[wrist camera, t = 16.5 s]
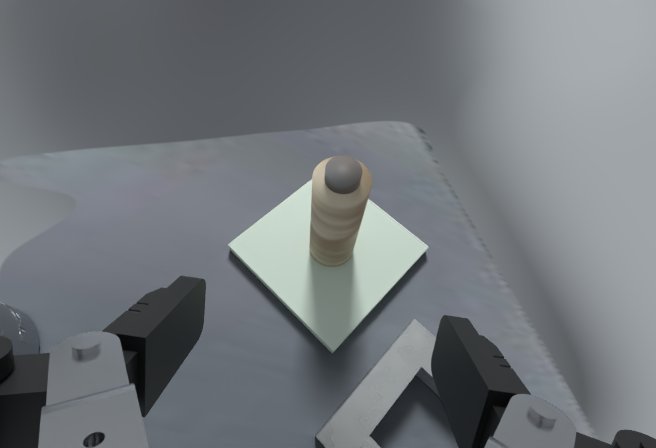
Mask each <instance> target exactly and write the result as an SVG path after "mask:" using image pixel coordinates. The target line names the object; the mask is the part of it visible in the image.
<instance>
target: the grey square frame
mask: <svg viewBox="0 0 656 448" xmlns="http://www.w3.org/2000/svg"><path fill="white" fill-rule="evenodd" d="M435 341H436V337H435V336H433V335H432V334H431V333H430V332H429V331H428V330H427V329H426V328H424V327H423V326H422V325H421V324H420V323H419V322H418V321H417V320H415V319H414V320H413V321H412V322H411V323H410V324H409V325H407V326H406V328H405V329H404V330H403V331H402V332H401V334H400V335H399V336H398V337H397V338H396V340H395V341H394V342H393V343H392V344H391V346H390V347H389V348H388V349H387V350H386V352H385V353H384V354H383V355H382V356H381V358H380V359H379V360H378V361H377V362H376V364H375V365H374V366H373V367H372V368H371V370H370V371H369V372H368V373H367V374H366V376H365V377H364V378H363V379H362V380H361V382H360V383H359V384H358V385H357V386H356V388H355V389H354V390H353V391H352V392H351V393H350V395H349V396H348V397H347V398H346V399H345V401H344V402H343V403H342V404H341V405H340V407H339V408H338V409H337V410H336V411H335V413H334V414H333V415H332V416H331V417H330V419H329V420H328V421H327V422H326V423H325V425H324V426H323V427H322V428H321V429H320V431H319V432H318V433H317V434H316V435H315V437H316V438H317V439H318V440H319V441H320V442H321V443H322V445H323V446H324V447H325V448H381V447H380V446H379V445H378V444H377V443H376V442H375V441H374V440H373V439H372V438H371V437H370V436H369V435H370V434H371V432H372V431H373V430H374V429H375V427H376V426H377V425H378V423H379V422H380V421H381V419H382V418H383V417H384V415H385V414H386V413H387V411H388V410H389V409H390V408H391V406H392V405H393V404H394V402H395V401H396V400H397V398H398V397H399V396H400V394H401V393H402V392H403V390H404V389H405V388H406V387H407V385H408V384H409V383H410V381H411V380H412V379H413V377H414V376H415V375H417V376H418V377H419V378H420V379H421V380H422V381H423V382H424V383H425V384H426V385H427V386H428V387H429V388H430V389H431V390H432V391H433V392H434V393H436V394H437V395H438V396H439V397H440V395H439V393H438V390H437V387H436V384H435V382H434V379H433V376H432V372H431V358H432V353H433V349H434V345H435Z"/></svg>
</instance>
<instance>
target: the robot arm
mask: <svg viewBox="0 0 656 448" xmlns="http://www.w3.org/2000/svg"><path fill="white" fill-rule="evenodd" d="M205 292H206V283H205V280H204V279H200V278H193V277H186V276H180V277H179V278H178V279H177V280H175V281H174V282H173V283H172V284H171V285H170V286H169V287H168V288H160V289H157V290H155V291H153V292H150V293H148V294H146V295H145V296H144V297H143V298H141V299H140V300H139V301H138V302H137V304H134V305H133V306H132V307H130V308H129V310H128V311H126V312H124V313H123V314H122V315H121V316H120V317H118V318H117V319H116V320H115V321H114V322H112V323H111V324H110V325H109V326H108V327H106V328H105V329H104V330H103V331H102V332H101V331H95V332H86V333H81V334H78V335H74V336H72V337H69V338H67V339H65V340H63V341H61V342H60V343H58V344H57V345H56V346H55V347H54V348H53V349H52V350H51V352H50V353H45V354H39V344H40V343H39V336H38V331H37V329H36V327H35V325H34V323H33V321H32V320H31V319H30V318H29V317H28V316H27V315H26V314H24V313H23V312H21V311H19V310H17V309H15V308H13V307H10V306H9V305H7V304H4V303H2V302H0V448H149V447H148V442H147V438H146V433H145V429H144V424H143V420H142V417H145V416H146V415H147V413H148V412H149V411H150V409H151V408H152V406H153V405H154V403H155V402H156V400H157V399H158V397H159V396H160V395H161V393H162V392H163V390H164V389H165V387H166V386H167V384H168V383H169V382H170V380H171V379H172V377H173V376H174V374H175V373H176V371H177V370H178V369H179V367H180V366H181V364H182V363H183V361H184V360H185V358H186V357H187V356H188V354H189V353H190V351H191V350H192V348H193V347H194V345H195V344H196V343H197V341H198V339H199V337H200V335H201V332H202V329H203V324H204V310H205ZM431 372H432V376H433V379H434V382H435V384H436V387H437V390H438V393H439V395H440V398H441V401H442V403H443V406H444V409H445V411H446V414H447V417H448V420H449V422H450V425H451V428H452V430H453V433H454V436H455V438H456V441H457V444H458V447H459V448H656V439H654V438H652V437H650V436H648V435H645V434H642V433H639V432H636V431H632V430H620V431H618V432H617V434H616V436H615V438H614V440H613V442H612V445H610V444H607V443H605V442H602V441H600V440H597V439H594V438H591V437H589V436H586V435H583V434H580V433H578V432H576V428H575V426H574V424H573V422H572V421H571V419H570V418H569V417H568V416H567V415H566V414H565V413H564V412H563V411H561V410H560V409H559V408H557V407H556V406H554V405H553V404H551V403H549V402H548V401H546V400H544V399H541V398H539V397H536V396H533V395H531V394H530V392H529V391H528V390H527V388H526V387H525V385H524V384H523V383H522V381H521V380H520V378H519V377H518V376H517V374H516V373H515V372H514V370H513V369H511V366H510V365H509V363H508V362H507V360H506V359H504V356H503V355H502V353H501V352H500V351H499V349H498V348H497V347H496V346H495V345H494V344H493V343H492V342H490V341H489V340H488V339H487V338H485V337H484V336H481V335H479V334H478V333H477V331H476V330H475V328H474V327H473V325H472V324H471V322H470V321H469V320H468V319H467V318H460V317H454V316H447V315H444V316H443V317H442V319H441V321H440V325H439V329H438V333H437V337H436V341H435V345H434V349H433V353H432V358H431Z"/></svg>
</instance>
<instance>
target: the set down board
mask: <svg viewBox="0 0 656 448" xmlns="http://www.w3.org/2000/svg"><path fill="white" fill-rule="evenodd" d="M311 198H312V180H310V181H309V182H308V183H306V184H305V185H304V186H303V187H301V188H300V189H299V190H297V191H296V192H295V193H294V194H292V195H291V196H290V197H288V198H287V199H286V200H285V201H283V202H282V203H281V204H279V205H278V206H277V207H276V208H274V209H273V210H272V211H270V212H269V213H268V214H267V215H265V216H264V217H263V218H261V219H260V220H259V221H258V222H256V223H255V224H254V225H252V226H251V227H250V228H248V229H247V230H246V231H245V232H243V233H242V234H241V235H239V236H238V237H237V238H236V239H234V240H233V241H232V242H230V243H229V244H228V247H229V249H230V250H231V251H232V252H233V253H234V254H235V255H236V256H237V257H238V258H239V260H240V261H241V262H242V263H243V264H244V265H245V266H246V267H247V268H248V269H249V270H250V271H251V272H252V273H253V274H254V275H255V276H256V277H257V278H258V279H259V280H260V281H261V282H262V283H263V284H264V285H265V286H266V287H267V288H268V289H269V290H270V291H271V292H272V293H273V294H274V295H275V296H276V297H277V298H278V299H279V300H280V301H281V302H282V303H283V304H284V305H285V306H286V307H287V308H288V309H289V310H290V311H291V312H292V313H293V314H294V315H295V316H296V317H297V318H298V319H299V320H300V321H301V322H302V323H303V324H304V325H305V326H306V327H307V329H308V330H309V331H310V332H311V333H312V334H313V335H314V336H315V337H316V338H317V339H318V340H319V341H320V342H321V343H322V344H323V345H324V346H325V347H326V348H327V349H328V350H329V351H330V352H331V353H333V352H334V351H335V350H336V349H337V348H338V347H339V346H340V345H341V344H342V342H343V341H344V340H345V339H346V338H347V337H348V336H349V335H350V334H351V333H352V332H353V330H354V329H355V328H356V327H357V326H358V325H359V324H360V323H361V322H362V321H363V319H364V318H365V317H366V316H367V315H368V314H369V313H370V312H371V311H372V310H373V309H374V307H375V306H376V305H377V304H378V303H379V302H380V301H381V300H382V299H383V298H384V296H385V295H386V294H387V293H388V292H389V291H390V290H391V289H392V288H393V287H394V286H395V284H396V283H397V282H398V281H399V280H400V279H401V278H402V277H403V276H404V275H405V273H406V272H407V271H408V270H409V269H410V268H411V267H412V266H413V265H414V264H415V263H416V261H417V260H418V259H419V258H420V257H421V256H422V255H423V254H424V253H425V252H426V250H427V249H428V246H427V245H426V244H425V243H423V242H422V241H421V240H420V239H418V238H417V237H416V236H415V235H413V234H412V233H411V232H410V231H408V230H407V229H406V228H405V227H403V226H402V225H401V224H400V223H398V222H397V221H396V220H394V219H393V218H392V217H391V216H389V215H388V214H387V213H386V212H384V211H383V210H382V209H381V208H379V207H378V206H377V205H376V204H374V203H373V202H372V201H371V200H369V199H368V201H367V205H366V208H365V211H364V215H363V218H362V222H361V225H360V229H359V232H358V236H357V239H356V243H355V246H354V249H353V253H352V255H351V257H350V259H349V260H348V261H347V262H346V263H344V264H342V265H340V266H336V267H328V266H324V265H322V264H320V263H318V262H317V261H316V260H315V259H314V258H313V257H312V255H311V252H310V247H309V245H310V221H311Z"/></svg>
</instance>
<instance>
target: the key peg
mask: <svg viewBox="0 0 656 448" xmlns="http://www.w3.org/2000/svg"><path fill="white" fill-rule="evenodd" d="M371 187H372V177H371V174H370V172H369V170H368V169H367V168H366V167H365V166H364V165H363V164H362V163H361V162H359V161H357V160H356V159H354V158H352V157H349V156H336V157H331V158H328V159H326V160H324V161H322V162H321V163H320V164H318V166H317V167H316V168H315V170H314V172H313V176H312V198H311V221H310V245H309V247H310V252H311V255H312V257H313V258H314V259H315V260H316V261H317V262H318V263H320V264H322V265H324V266H328V267H336V266H340V265H342V264H344V263H346V262H347V261H348V260H349V259H350V257H351V255H352V253H353V249H354V246H355V243H356V239H357V236H358V232H359V229H360V225H361V222H362V218H363V215H364V211H365V208H366V205H367V201H368V198H369V194H370V191H371Z"/></svg>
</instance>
